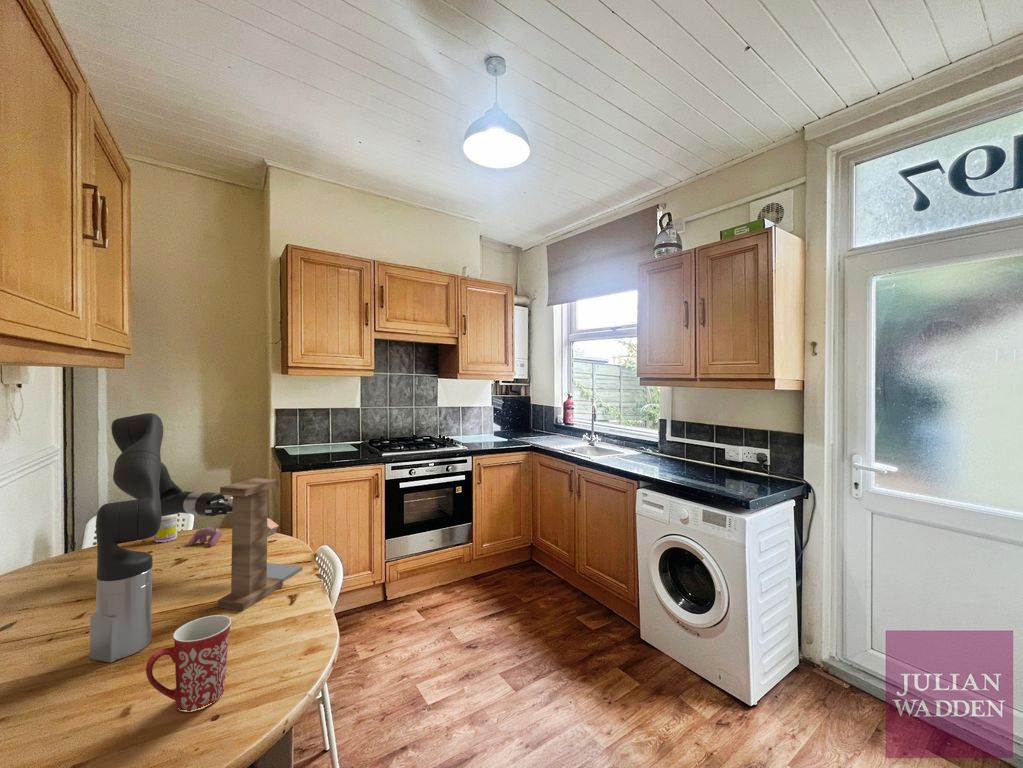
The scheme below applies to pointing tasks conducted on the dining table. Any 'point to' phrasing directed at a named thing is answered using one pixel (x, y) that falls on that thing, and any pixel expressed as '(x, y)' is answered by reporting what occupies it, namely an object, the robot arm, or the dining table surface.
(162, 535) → the supplement bottle
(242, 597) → the stand
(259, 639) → the dining table surface
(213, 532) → the video game controller
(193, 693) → the mug
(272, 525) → the block
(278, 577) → the board
